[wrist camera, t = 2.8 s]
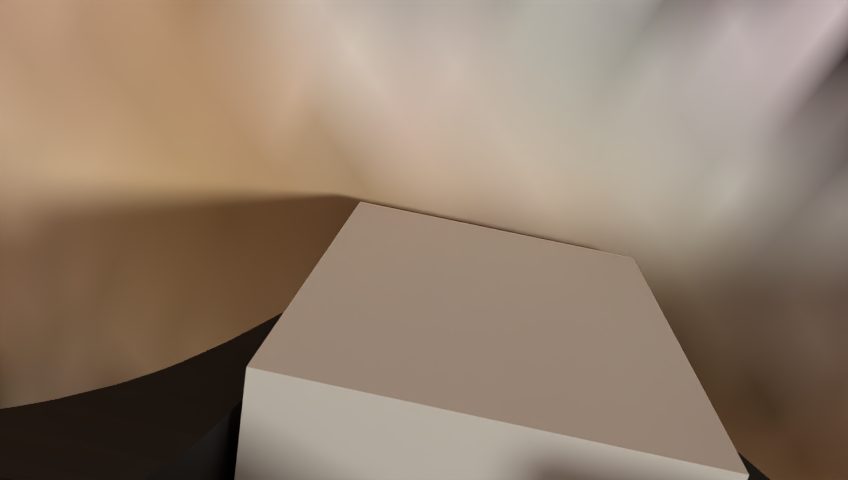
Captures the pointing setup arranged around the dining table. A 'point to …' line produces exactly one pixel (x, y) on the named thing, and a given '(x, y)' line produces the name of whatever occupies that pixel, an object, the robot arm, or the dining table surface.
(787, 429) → the dining table surface
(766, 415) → the dining table surface
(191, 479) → the robot arm
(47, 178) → the dining table surface
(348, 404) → the block
